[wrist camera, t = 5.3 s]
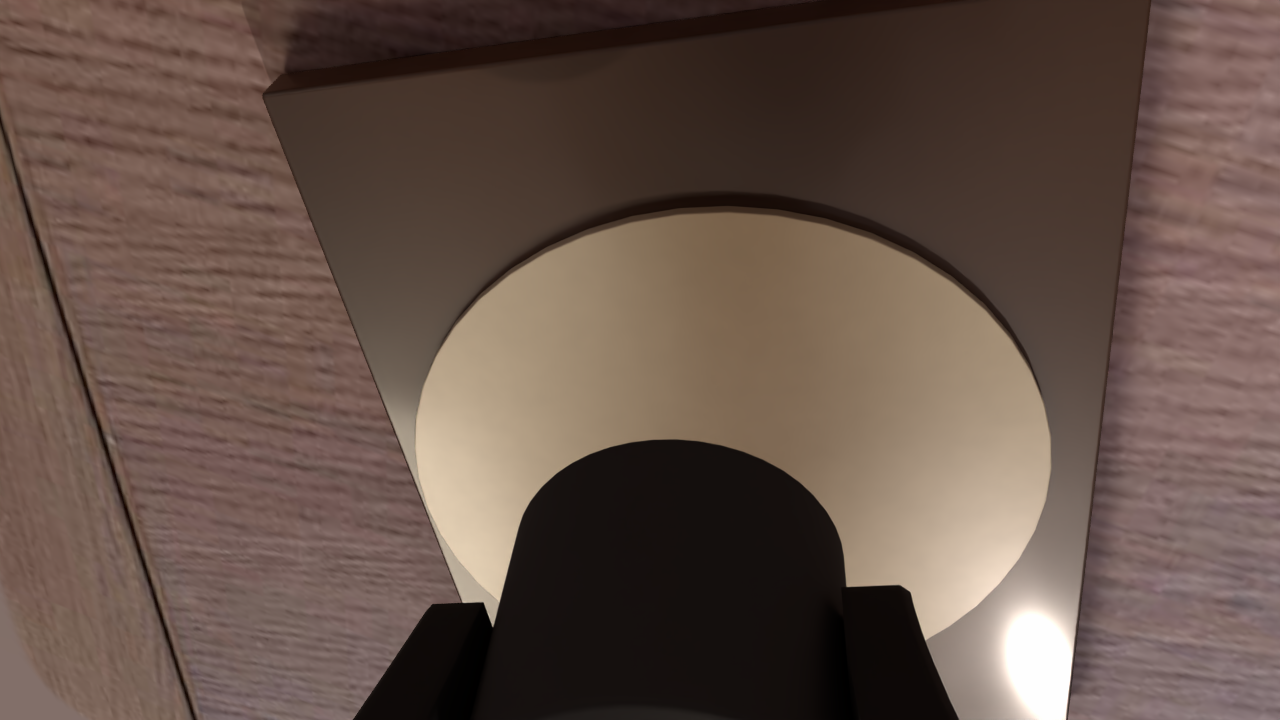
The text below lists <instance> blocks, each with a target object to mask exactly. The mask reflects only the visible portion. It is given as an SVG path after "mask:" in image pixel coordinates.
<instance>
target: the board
mask: <svg viewBox="0 0 1280 720" xmlns="http://www.w3.org/2000/svg"><path fill="white" fill-rule="evenodd" d="M1150 8H1151V0H824V1H816V2H809V3H802V4H794V5H787V6H780V7H772V8H765V9H758V10H750V11H743V12H736V13H728V14H721V15H714V16H706V17H699V18H692V19H684V20H677V21H669V22H662V23H655V24H647V25H640V26H633V27H625V28H618V29H611V30H603V31H596V32H589V33H581V34H574V35H567V36H559V37H552V38H545V39H537V40H530V41H523V42H515V43H508V44H501V45H493V46H486V47H479V48H471V49H464V50H457V51H449V52H442V53H435V54H427V55H420V56H412V57H405V58H398V59H390V60H383V61H376V62H368V63H361V64H354V65H346V66H339V67H332V68H324V69H317V70H310V71H302V72H295V73H288V74H282V75H280V76H279V77H278V78H277V79H276V80H275V81H274V82H273V83H272V84H271V85H270V86H269V87H268V88H267V89H266V91H265V92H264V93H263V95H262V96H263V100H264V103H265V105H266V108H267V110H268V113H269V116H270V118H271V121H272V123H273V126H274V128H275V131H276V133H277V136H278V138H279V141H280V143H281V146H282V149H283V151H284V154H285V156H286V159H287V161H288V164H289V166H290V169H291V171H292V174H293V176H294V179H295V181H296V184H297V187H298V189H299V192H300V194H301V197H302V199H303V202H304V204H305V207H306V209H307V212H308V214H309V217H310V220H311V222H312V225H313V227H314V230H315V232H316V235H317V237H318V240H319V242H320V245H321V247H322V250H323V253H324V255H325V258H326V260H327V263H328V265H329V268H330V270H331V273H332V275H333V278H334V280H335V283H336V285H337V288H338V291H339V293H340V296H341V298H342V301H343V303H344V306H345V308H346V311H347V313H348V316H349V318H350V321H351V324H352V326H353V329H354V331H355V334H356V336H357V339H358V341H359V344H360V346H361V349H362V351H363V354H364V357H365V359H366V362H367V364H368V367H369V369H370V372H371V374H372V377H373V379H374V382H375V384H376V387H377V389H378V392H379V395H380V397H381V400H382V402H383V405H384V407H385V410H386V412H387V415H388V417H389V420H390V422H391V425H392V428H393V430H394V433H395V435H396V438H397V440H398V443H399V445H400V448H401V450H402V453H403V455H404V458H405V461H406V463H407V466H408V468H409V471H410V473H411V476H412V478H413V481H414V483H415V486H416V488H417V491H418V493H419V496H420V499H421V501H422V504H423V506H424V509H425V511H426V514H427V516H428V519H429V521H430V524H431V526H432V529H433V532H434V534H435V537H436V539H437V542H438V544H439V547H440V549H441V552H442V554H443V557H444V559H445V562H446V565H447V567H448V570H449V572H450V575H451V577H452V580H453V582H454V585H455V587H456V590H457V592H458V595H459V597H460V600H461V603H472V602H484V605H485V608H486V610H487V613H488V616H489V618H490V621H491V623H492V626H494V622H495V618H496V614H497V610H498V606H499V602H500V599H501V595H502V591H503V587H504V583H505V579H506V575H507V571H508V567H509V563H510V559H511V555H512V551H513V547H514V543H515V539H516V536H517V532H518V528H519V525H520V522H521V519H522V516H523V514H524V512H525V510H526V508H527V506H528V504H529V503H530V501H531V500H532V498H533V497H534V496H535V495H536V493H537V492H538V491H539V490H540V488H541V487H542V486H543V485H544V484H545V483H547V482H548V481H549V480H550V479H551V478H552V477H553V476H554V475H555V474H556V473H558V472H559V471H561V470H562V469H564V468H565V467H567V466H568V465H570V464H571V463H573V462H575V461H577V460H579V459H581V458H583V457H585V456H587V455H589V454H592V453H594V452H597V451H600V450H603V449H606V448H609V447H612V446H617V445H621V444H626V443H630V442H638V441H646V440H663V439H679V440H691V441H701V442H706V443H712V444H717V445H722V446H726V447H729V448H733V449H736V450H740V451H743V452H746V453H748V454H750V455H753V456H755V457H758V458H760V459H763V460H765V461H767V462H769V463H770V464H772V465H774V466H776V467H778V468H780V469H781V470H783V471H785V472H786V473H787V474H789V475H790V476H792V477H793V478H794V479H796V480H797V481H799V482H800V483H801V484H802V485H803V486H804V487H805V488H806V489H807V490H809V491H810V492H811V493H812V494H813V495H814V496H815V498H816V499H817V500H818V501H819V503H820V504H821V505H822V506H823V507H824V509H825V510H826V511H827V513H828V515H829V516H830V518H831V520H832V521H833V523H834V525H835V527H836V529H837V532H838V534H839V537H840V540H841V542H842V548H843V554H844V562H845V574H846V585H847V587H857V586H881V585H901V586H902V587H904V588H905V589H907V590H908V591H910V592H911V596H912V600H913V604H914V608H915V611H916V614H917V618H918V621H919V624H920V627H921V630H922V633H923V636H924V638H925V641H926V644H927V647H928V649H929V652H930V654H931V657H932V659H933V662H934V664H935V667H936V669H937V671H938V674H939V676H940V678H941V681H942V683H943V685H944V688H945V690H946V692H947V694H948V697H949V699H950V701H951V703H952V706H953V708H954V710H955V712H956V714H957V716H958V718H959V720H1068V713H1069V704H1070V696H1071V687H1072V678H1073V670H1074V661H1075V653H1076V644H1077V635H1078V627H1079V618H1080V610H1081V601H1082V592H1083V584H1084V575H1085V567H1086V558H1087V549H1088V541H1089V532H1090V524H1091V515H1092V507H1093V498H1094V489H1095V481H1096V472H1097V464H1098V455H1099V446H1100V438H1101V429H1102V421H1103V412H1104V403H1105V395H1106V386H1107V378H1108V369H1109V360H1110V352H1111V343H1112V335H1113V326H1114V317H1115V309H1116V300H1117V292H1118V283H1119V274H1120V266H1121V257H1122V249H1123V240H1124V231H1125V223H1126V214H1127V206H1128V197H1129V188H1130V180H1131V171H1132V163H1133V154H1134V145H1135V137H1136V128H1137V120H1138V111H1139V102H1140V94H1141V85H1142V77H1143V68H1144V59H1145V51H1146V42H1147V34H1148V25H1149V16H1150Z"/></svg>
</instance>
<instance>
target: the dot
mask: <svg viewBox="0 0 1280 720" xmlns="http://www.w3.org/2000/svg"><path fill="white" fill-rule="evenodd" d="M841 587H847V585H846V574H845V562H844V554H843V548H842V542H841V540H840V537H839V534H838V532H837V529H836V527H835V525H834V523H833V521H832V520H831V518H830V516H829V515H828V513H827V511H826V510H825V509H824V507H823V506H822V505H821V504H820V503H819V501H818V500H817V499H816V498H815V496H814V495H813V494H812V493H811V492H810V491H809V490H807V489H806V488H805V487H804V486H803V485H802V484H801V483H800V482H799V481H797V480H796V479H794V478H793V477H792V476H790V475H789V474H787V473H786V472H785V471H783V470H781V469H780V468H778V467H776V466H774V465H772V464H770V463H769V462H767V461H765V460H763V459H760V458H758V457H755V456H753V455H750V454H748V453H746V452H743V451H740V450H736V449H733V448H729V447H726V446H722V445H717V444H712V443H706V442H701V441H691V440H679V439H663V440H646V441H638V442H630V443H626V444H621V445H617V446H612V447H609V448H606V449H603V450H600V451H597V452H594V453H592V454H589V455H587V456H585V457H583V458H581V459H579V460H577V461H575V462H573V463H571V464H570V465H568V466H567V467H565V468H564V469H562V470H561V471H559V472H558V473H556V474H555V475H554V476H553V477H552V478H551V479H550V480H549V481H548V482H547V483H545V484H544V485H543V486H542V487H541V488H540V490H539V491H538V492H537V493H536V495H535V496H534V497H533V498H532V500H531V501H530V503H529V504H528V506H527V508H526V510H525V512H524V514H523V516H522V519H521V522H520V525H519V528H518V532H517V536H516V539H515V543H514V547H513V551H512V555H511V559H510V563H509V567H508V571H507V575H506V579H505V583H504V587H503V591H502V595H501V599H500V602H499V606H498V610H497V614H496V618H495V622H494V626H493V630H492V634H491V638H490V642H489V646H488V650H487V654H486V658H485V661H484V665H483V669H482V673H481V677H480V681H479V685H478V689H477V693H476V697H475V701H474V705H473V709H472V713H471V717H470V720H853V714H852V708H851V701H850V691H849V679H848V667H847V655H846V642H845V630H844V617H843V604H842V592H841Z"/></svg>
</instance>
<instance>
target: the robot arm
mask: <svg viewBox="0 0 1280 720" xmlns="http://www.w3.org/2000/svg"><path fill="white" fill-rule="evenodd" d="M841 592H842V604H843V617H844V630H845V642H846V655H847V667H848V679H849V691H850V701H851V708H852V714H853V720H959V718H958V716H957V714H956V712H955V710H954V708H953V706H952V703H951V701H950V699H949V697H948V694H947V692H946V690H945V688H944V685H943V683H942V681H941V678H940V676H939V674H938V671H937V669H936V667H935V664H934V662H933V659H932V657H931V654H930V652H929V649H928V647H927V644H926V641H925V638H924V636H923V633H922V630H921V627H920V624H919V621H918V618H917V614H916V611H915V608H914V604H913V600H912V596H911V592H910V591H908V590H907V589H905V588H904V587H902V586H901V585H881V586H857V587H841ZM492 630H493V626H492V623H491V621H490V618H489V616H488V613H487V610H486V608H485V605H484V602H472V603H448V604H432V605H431V607H430V608H429V609H428V610H427V611H426V612H425V614H424V615H423V617H422V618H421V620H420V621H419V623H418V624H417V626H416V627H415V629H414V630H413V632H412V633H411V635H410V636H409V638H408V639H407V641H406V642H405V644H404V645H403V647H402V648H401V650H400V651H399V653H398V654H397V656H396V657H395V659H394V660H393V662H392V663H391V665H390V666H389V668H388V669H387V671H386V672H385V674H384V675H383V677H382V678H381V679H380V681H379V682H378V684H377V685H376V687H375V688H374V690H373V691H372V693H371V694H370V696H369V697H368V698H367V700H366V701H365V703H364V704H363V706H362V707H361V709H360V710H359V712H358V713H357V715H356V716H355V717H354V719H353V720H470V717H471V713H472V709H473V705H474V701H475V697H476V693H477V689H478V685H479V681H480V677H481V673H482V669H483V665H484V661H485V658H486V654H487V650H488V646H489V642H490V638H491V634H492Z"/></svg>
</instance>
